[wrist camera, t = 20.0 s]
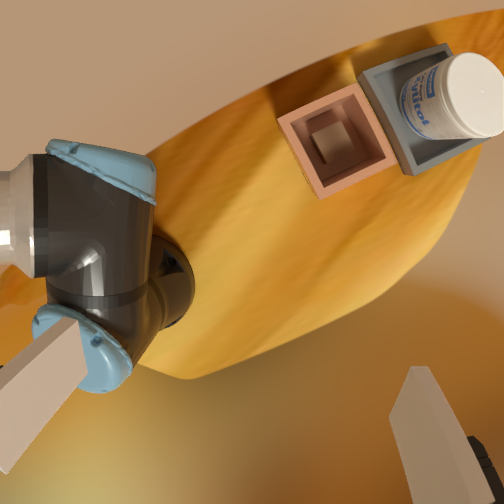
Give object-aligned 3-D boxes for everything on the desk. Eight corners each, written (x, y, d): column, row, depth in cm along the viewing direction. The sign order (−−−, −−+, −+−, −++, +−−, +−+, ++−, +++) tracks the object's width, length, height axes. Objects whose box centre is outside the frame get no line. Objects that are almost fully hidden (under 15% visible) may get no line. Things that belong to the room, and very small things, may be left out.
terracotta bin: (312, 192, 43) (319, 200, 34) (278, 127, 41) (276, 118, 32) (375, 162, 41) (397, 162, 32) (342, 97, 39) (356, 82, 30)
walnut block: (323, 163, 41) (327, 163, 37) (309, 136, 40) (311, 134, 36) (349, 150, 40) (355, 149, 36) (335, 124, 39) (340, 120, 35)
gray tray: (403, 174, 41) (414, 176, 37) (356, 78, 38) (362, 71, 34) (477, 138, 37) (491, 138, 34) (435, 50, 34) (446, 42, 31)
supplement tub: (387, 84, 36) (429, 54, 22) (439, 71, 35) (492, 45, 20) (412, 149, 39) (465, 147, 24) (462, 132, 37) (523, 128, 23)
